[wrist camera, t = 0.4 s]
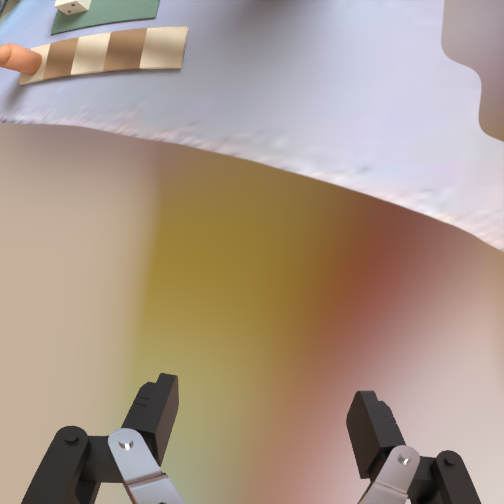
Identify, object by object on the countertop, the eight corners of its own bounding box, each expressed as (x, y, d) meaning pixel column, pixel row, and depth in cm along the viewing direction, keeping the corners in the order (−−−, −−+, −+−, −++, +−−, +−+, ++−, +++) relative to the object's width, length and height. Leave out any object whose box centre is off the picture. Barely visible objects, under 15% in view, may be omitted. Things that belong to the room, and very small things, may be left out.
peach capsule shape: (28, 55, 32) (-8, 43, 23) (44, 51, 32) (8, 37, 23) (23, 76, 33) (-14, 67, 24) (39, 72, 33) (2, 61, 24)
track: (29, 51, 32) (26, 49, 32) (188, 28, 33) (187, 26, 32) (21, 84, 34) (18, 84, 33) (181, 68, 34) (180, 66, 33)
